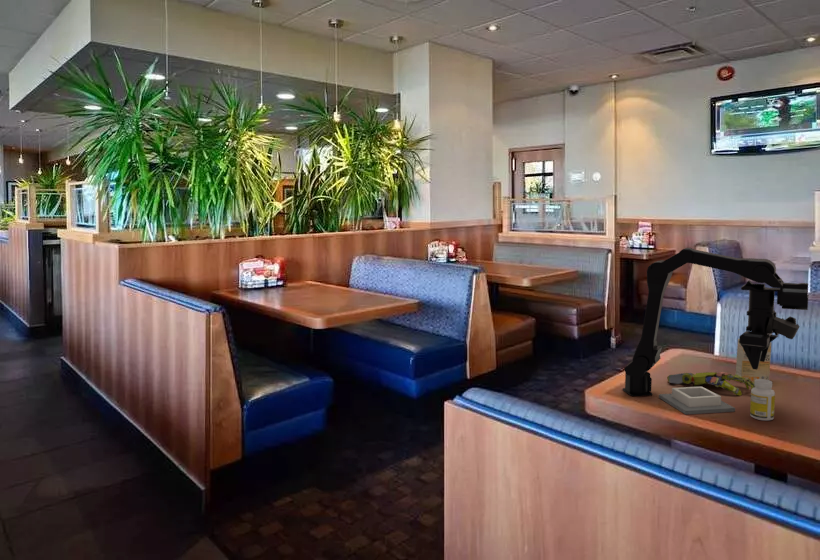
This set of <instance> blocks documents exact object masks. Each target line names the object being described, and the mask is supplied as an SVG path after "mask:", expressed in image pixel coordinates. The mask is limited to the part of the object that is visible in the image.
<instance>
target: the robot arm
mask: <svg viewBox="0 0 820 560" xmlns="http://www.w3.org/2000/svg"><path fill="white" fill-rule="evenodd" d="M686 264H693V265H698V266H703V267H707V268H711V269H716V270H720V271H726V272H729V273H734V274H737V275H739V276H740V277H743V278H745V279H747V280H748V281H746V283H745V284H744V285H742V286H741V288H740V290H742V291H748V294H749V295H748V310H747V311H746V316H747V325H746V326H745V327H746V328H745V331H744V332H743V333H742V334H740V335H739V338H738V339H739V343H740V344H741V346H742V347H743V349H744V351H745V353H746V355H747V357H748V360H749V362H750V364H751V366H752V368H753V369H756V370H757V369H758V366H759V362H760V361H761V362H764V361H765V359H766V355H767V352H768V349H769V346H770V343H772V341H774V340H775V339H777V338H778V337H779V335H781V336H783V337H785V338H786V339H789V340H793V339H794V338H795V337H796V335H797V333H798V332H799V331H798V330H799V328H800V325H799V323H797V319H796V317H793V316H788V317H786V318H783V317H782V318H780V317H778V316H777V311H776V310H775V292H776V305H778V306H780V307H781V309H782V310H783V309H784V310H796V311H797V310H799V311H808V310H809V309H808V308H809V294H808V293H809V292H808V291H809V283H807V282H799V283H792V282H791V283H790V282H784V281H783V278H781V277H780V276H779V274H778V273H777V267H776V264H775V263H774V262H773V261H772V260H770V259H767V258H755V257H753V258H752V257H751V258H745V257H744V258H743V257H742V258H741V257H733V256H730V255H723V254H720V253H715V252H714V253H713V252H709V251H704V250H698V249H694V248H693V247H692V248H691V247H685V248H683V249H681V250H680V251H679V252H677V253H676V254H674V255H671V256H670V257H668V258H667V259H665V260H657V261H655V262H653V263H651V264H650V265H649V266H648V267H647V269H646V284H647V290H648V294H647V300H646V306H645V314H644V318H643V325H642V329H641V330H642V331H641V336H640V340H639V342H638V344H637V346H636V348H635V351H634V354H633V356H632V361H630V362H629V363H628V364H627V365H626V366H625V367H624V369H623V370H624V372H625V375H624V376H625V377H624V378H625V379H624V380H625V381H624V383H625V384H624V387H622V391H623V392H625V393H626V394H628V395H629V396H630V397H643V396H653V392H652V385H653V384H652V383H653V381H652V380H653V379H652V377H651V372H649V371H650V370H651V369H652V368H653V367H654V366H655V365H656V364H657V363H658V362H659V361H660V360H661V359H662V358H661V351H662V348H663V345H658V341H657V337H658V332H659V324H660V319H661V313H662V307H663V302H664V296H665V292H666V290H667V288H668V286H669V284H670V281H671V279H672V276H673V273H674V271H676V270H678V269H679V268H681V267H682V266H684V265H686ZM752 281H753V282H755V283H753V282H752ZM766 285H768V287H766Z"/></svg>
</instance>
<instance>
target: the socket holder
mask: <svg viewBox="0 0 820 560" xmlns="http://www.w3.org/2000/svg"><path fill="white" fill-rule="evenodd" d="M658 399H660V400H661V401H664V402H665V403H666V404H668V405H670V406H671V407H673V408H674V409H676V410H677V411H680V413H683V415H701V414H715V413H716V414H718V413H734V412H736V408H735V407H734V406H733V405H731V404H729V403H726V402H725V401H723V400H722V396H721V395H720V394H718V393H715V392H713V391H711V390H709V389H708V388H705V387H703V386H687V387H686V386H685V387H684V386H683V387H672V388H671V393H659V394H658Z"/></svg>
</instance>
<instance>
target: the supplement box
mask: <svg viewBox="0 0 820 560" xmlns="http://www.w3.org/2000/svg"><path fill="white" fill-rule="evenodd" d="M736 351H737V352H736V362H735V363H736V366H735V367H736V368H735V374H736V375H739V376H741V377H743V378H747V379H748V378H749V379H751V380H752V381H753V382H755V380H756V379H766V380H770V373H771V371H770V370H771V358H772V357H771V356H772V342H771V343H770V346H769V349H768V352H767V355H766V359H765V361H764V362H761V361H760V362H759V366H758V369H757V370H756V369H753V368H752V366H751V364H750V362H749V360H748V357H747V355H746V353H745V351H744V349H743V347H742V346H741V344H740V343H739V338H737V349H736Z"/></svg>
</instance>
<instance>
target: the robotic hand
mask: <svg viewBox="0 0 820 560" xmlns="http://www.w3.org/2000/svg"><path fill="white" fill-rule="evenodd" d="M728 381H734V382H740V383H742V384H745V387H746V389H747V390H750V391H751V390H752V388H754V387H755V386H754V382H753V381H752V380H751V379H749V378H748V379H747V378H743V377H741V376H739V375H736V373H735V374H734V375H733V374H732V373H728V372H725V371H719V372H717V371H716V372H714V371H713V372H712V371H711V372H708V371H707V372H696V373H692V372H682V373H676V374H675V373H674V374H670V375H668V376H667V382H668V383H671V384H678V385H680V384H682V385H683V384H684V385H688V384H690V385H691V384H693V383H694V384H693V385H694V386H693V387H696V386H700V385H706V384H709V385H712V386H715V387H716V388H719V387H720V388H722V389H724V390H726V391H729V392H732V394H734V395H736V396H738V397H739V396H740V397H741V396H742V395H743V393H742V391H741V389H740V388H739V387H738V386H734V385H732V384H731V383H730V382H728Z"/></svg>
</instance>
